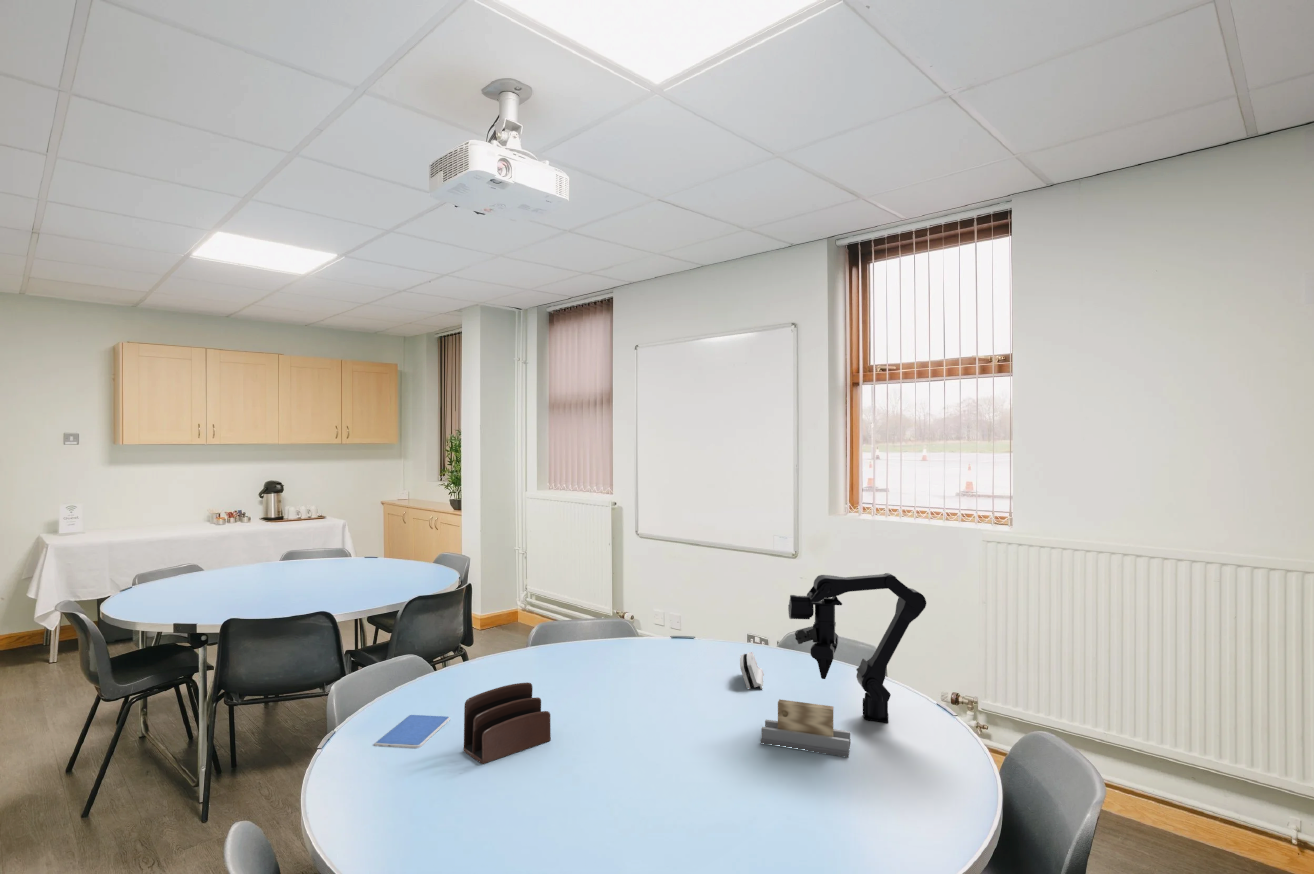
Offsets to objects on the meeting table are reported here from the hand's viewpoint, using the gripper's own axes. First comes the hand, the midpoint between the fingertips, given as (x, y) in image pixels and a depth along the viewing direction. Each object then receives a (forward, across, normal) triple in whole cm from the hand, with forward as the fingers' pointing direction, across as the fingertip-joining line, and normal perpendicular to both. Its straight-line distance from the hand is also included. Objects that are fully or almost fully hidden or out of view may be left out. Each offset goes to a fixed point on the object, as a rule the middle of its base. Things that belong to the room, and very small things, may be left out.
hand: (824, 673), depth 189 cm
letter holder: (+12, +50, -74) cm, 91 cm away
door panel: (+11, +21, -3) cm, 24 cm away
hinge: (+12, -22, -26) cm, 37 cm away
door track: (+12, +21, -3) cm, 24 cm away
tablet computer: (+13, +51, -103) cm, 116 cm away
